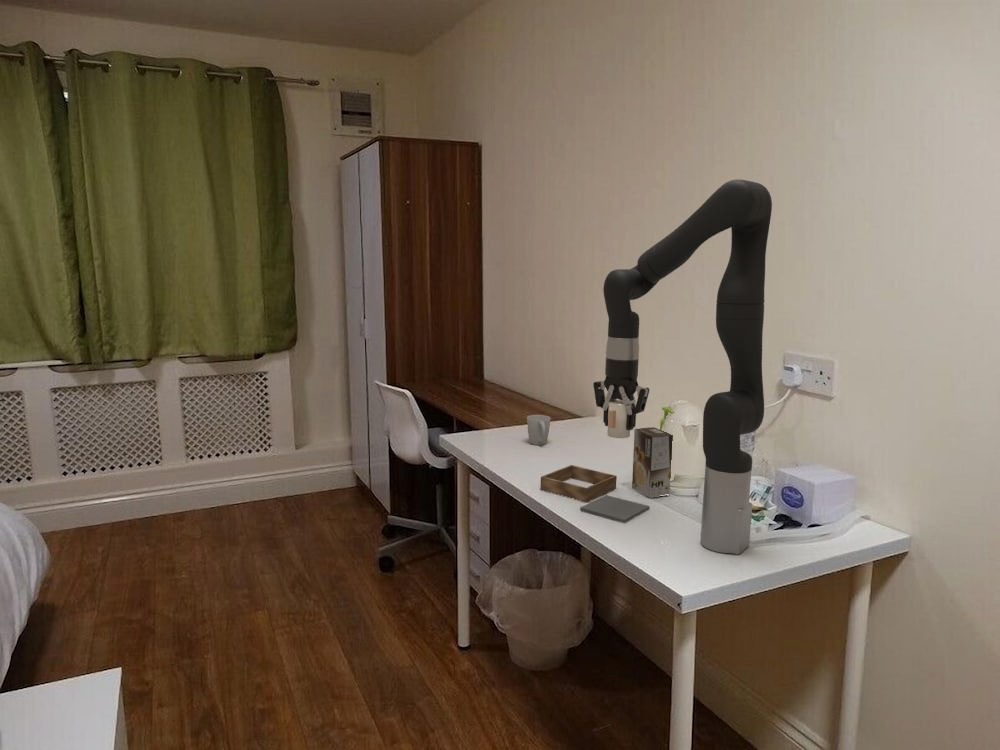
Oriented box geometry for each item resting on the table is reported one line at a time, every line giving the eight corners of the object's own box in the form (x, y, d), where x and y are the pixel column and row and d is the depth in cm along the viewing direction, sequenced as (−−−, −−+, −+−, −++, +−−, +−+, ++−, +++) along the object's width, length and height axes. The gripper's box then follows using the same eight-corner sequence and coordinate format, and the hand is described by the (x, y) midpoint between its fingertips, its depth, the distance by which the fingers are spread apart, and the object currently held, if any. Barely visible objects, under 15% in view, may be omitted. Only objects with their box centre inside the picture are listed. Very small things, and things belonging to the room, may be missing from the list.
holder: (616, 488, 187) (616, 475, 187) (586, 502, 176) (587, 488, 176) (570, 477, 196) (571, 464, 195) (540, 489, 185) (540, 476, 185)
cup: (545, 439, 235) (546, 414, 234) (555, 447, 226) (555, 421, 224) (523, 440, 233) (524, 415, 232) (531, 448, 224) (532, 422, 222)
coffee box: (670, 496, 182) (674, 435, 179) (649, 498, 180) (652, 436, 177) (651, 485, 191) (654, 426, 188) (630, 487, 188) (633, 428, 186)
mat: (649, 509, 172) (649, 506, 172) (624, 523, 163) (624, 519, 163) (606, 497, 180) (606, 494, 180) (580, 510, 171) (580, 507, 171)
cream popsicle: (614, 431, 172) (616, 399, 171) (633, 435, 169) (635, 402, 167) (600, 436, 167) (601, 403, 166) (619, 440, 164) (621, 406, 162)
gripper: (658, 358, 164) (654, 430, 166) (603, 351, 172) (601, 420, 175) (642, 361, 158) (638, 436, 161) (587, 354, 167) (584, 425, 170)
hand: (618, 427), depth 168 cm, fingers closed on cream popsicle, 5 cm apart
